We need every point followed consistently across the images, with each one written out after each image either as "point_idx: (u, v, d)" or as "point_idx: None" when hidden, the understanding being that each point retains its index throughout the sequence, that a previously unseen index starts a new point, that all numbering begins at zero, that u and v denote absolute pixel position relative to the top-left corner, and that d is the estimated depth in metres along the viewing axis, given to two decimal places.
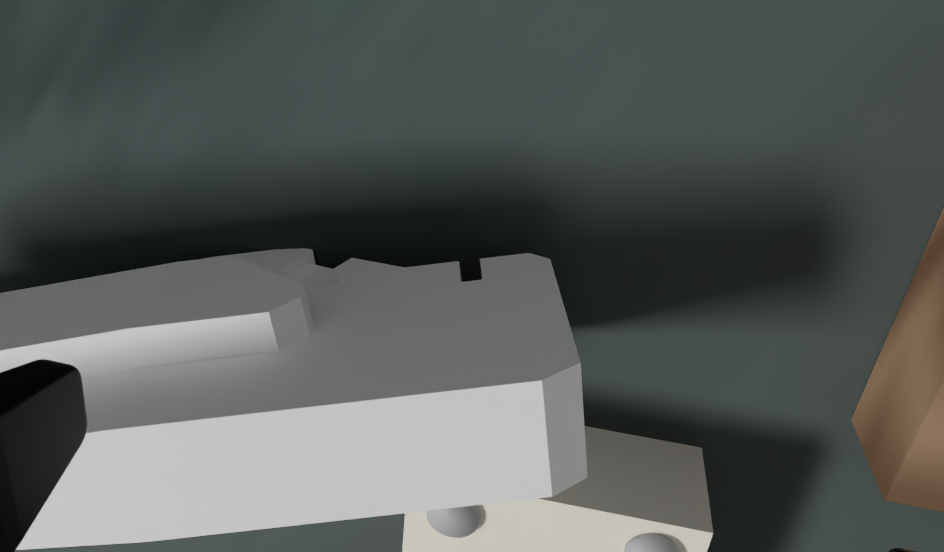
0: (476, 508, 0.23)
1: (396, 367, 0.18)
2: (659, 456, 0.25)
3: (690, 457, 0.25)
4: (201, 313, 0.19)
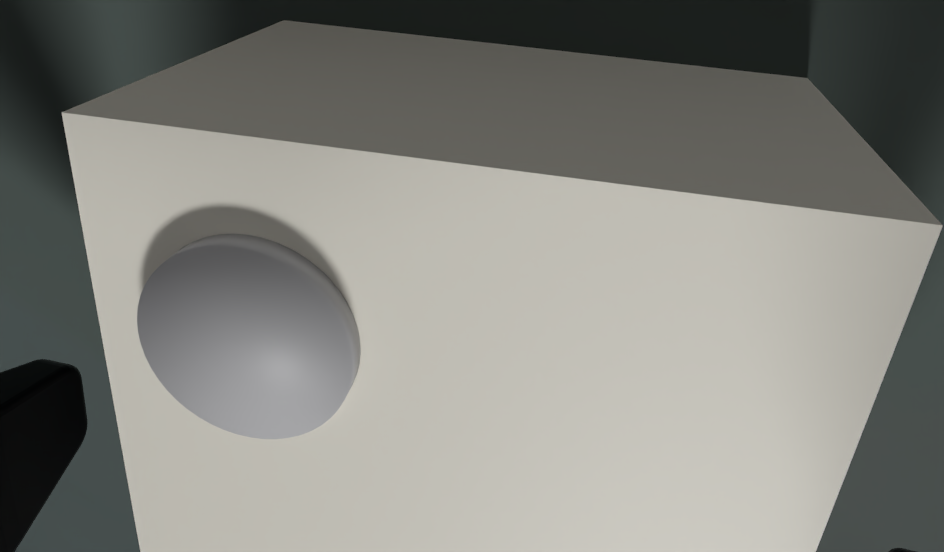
0: None
1: None
2: None
3: None
4: None
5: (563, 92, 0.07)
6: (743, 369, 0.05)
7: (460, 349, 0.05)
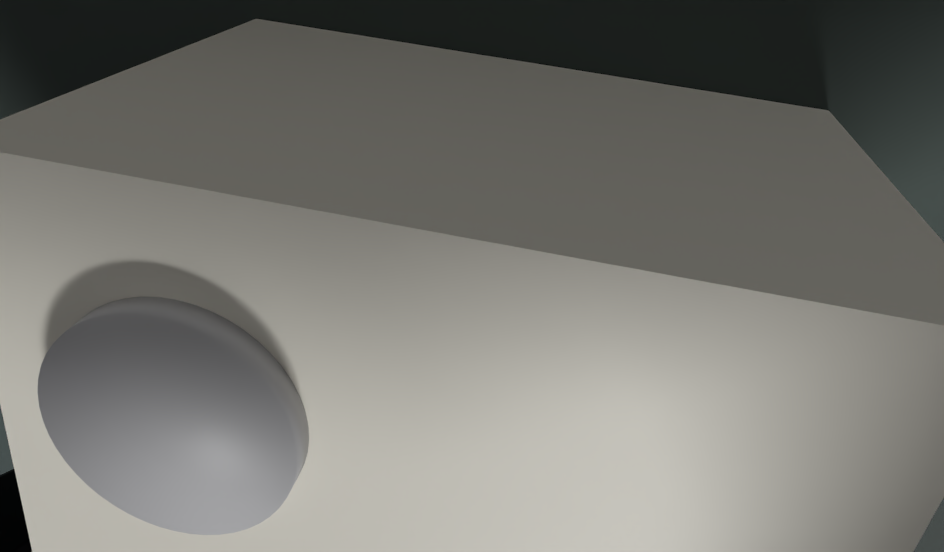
0: None
1: None
2: None
3: None
4: None
5: (563, 129, 0.06)
6: (767, 487, 0.04)
7: (427, 445, 0.04)
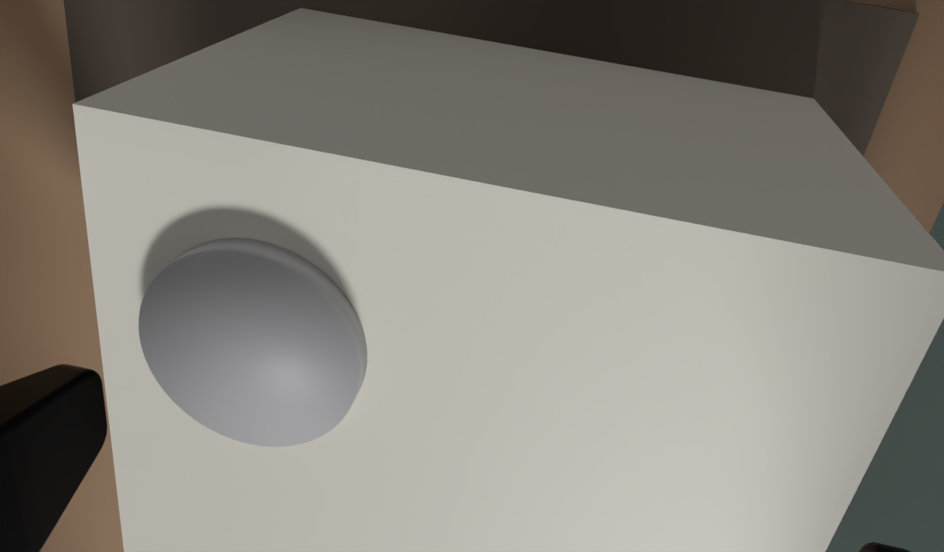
0: None
1: None
2: None
3: None
4: None
5: (581, 107, 0.06)
6: (754, 404, 0.05)
7: (467, 367, 0.05)
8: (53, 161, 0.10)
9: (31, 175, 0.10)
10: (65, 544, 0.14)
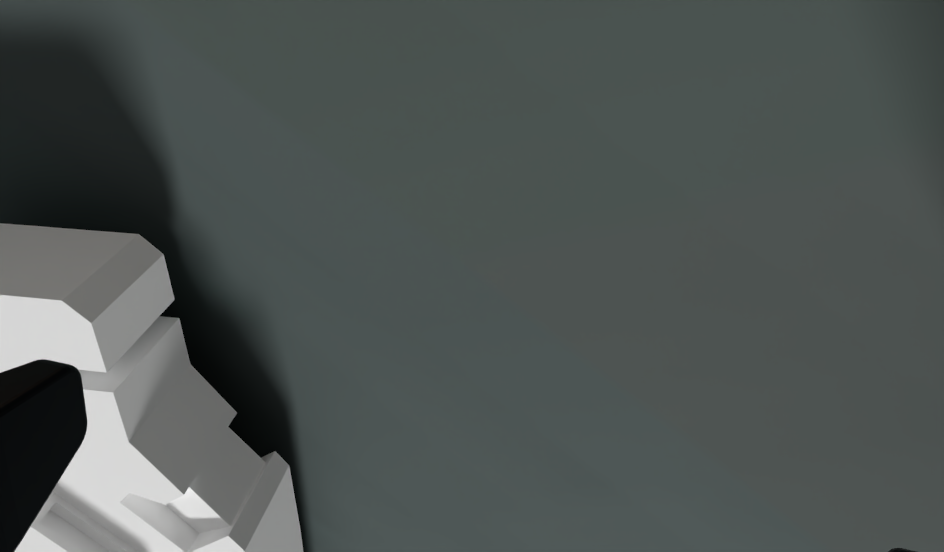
0: None
1: None
2: None
3: None
4: None
5: None
6: None
7: None
8: None
9: None
10: None
